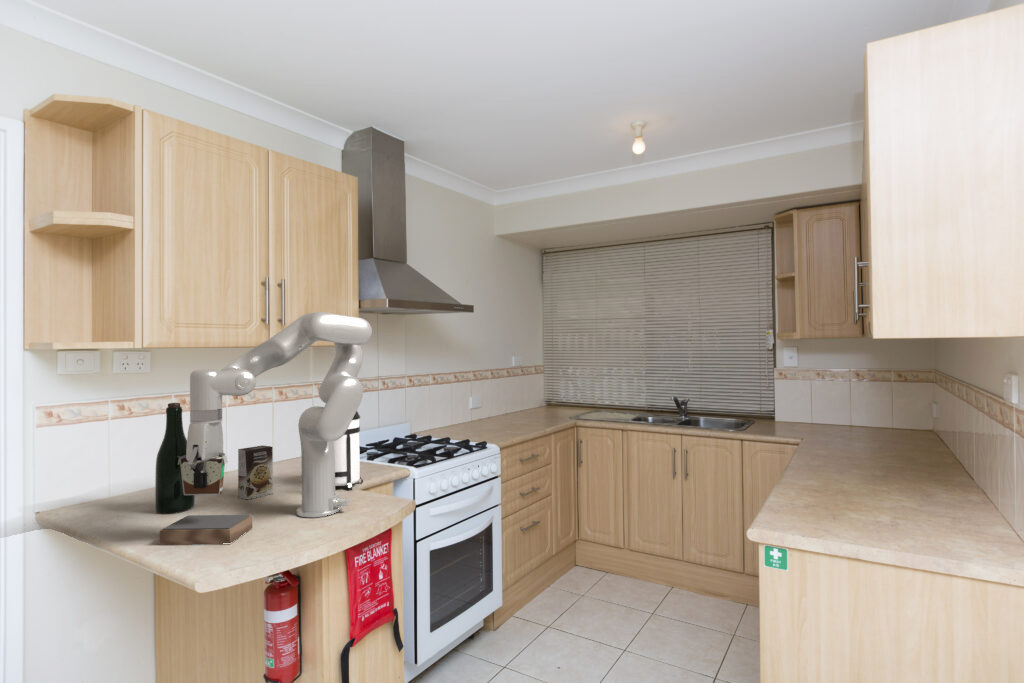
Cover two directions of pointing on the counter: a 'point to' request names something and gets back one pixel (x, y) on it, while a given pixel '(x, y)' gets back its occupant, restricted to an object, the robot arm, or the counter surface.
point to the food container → (213, 476)
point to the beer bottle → (171, 466)
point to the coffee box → (255, 471)
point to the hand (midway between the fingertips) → (206, 484)
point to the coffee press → (348, 456)
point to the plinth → (205, 529)
